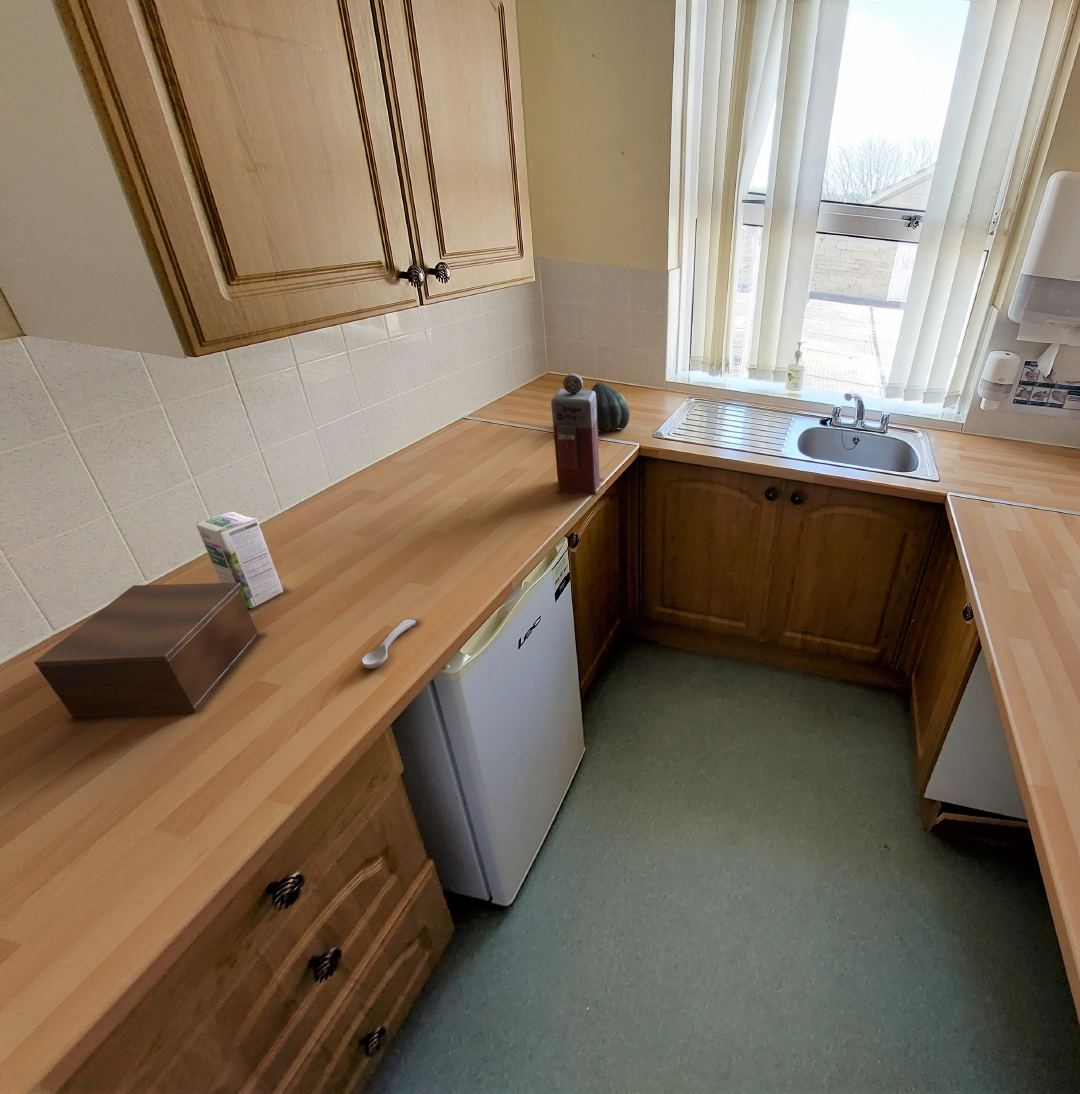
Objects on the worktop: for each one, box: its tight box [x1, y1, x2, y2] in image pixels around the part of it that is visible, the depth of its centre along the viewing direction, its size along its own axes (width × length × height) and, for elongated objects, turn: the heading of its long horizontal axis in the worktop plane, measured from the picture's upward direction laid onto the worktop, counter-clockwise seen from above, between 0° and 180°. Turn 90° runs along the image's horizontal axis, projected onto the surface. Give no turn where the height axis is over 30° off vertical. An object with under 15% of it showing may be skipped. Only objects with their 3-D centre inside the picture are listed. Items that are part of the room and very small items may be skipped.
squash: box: [589, 381, 631, 433], centre depth 180 cm, size 14×15×15 cm
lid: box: [33, 582, 242, 668], centre depth 76 cm, size 16×14×1 cm
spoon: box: [361, 618, 416, 669], centre depth 88 cm, size 3×12×2 cm, turn 178°
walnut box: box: [37, 591, 260, 720], centre depth 78 cm, size 16×14×9 cm
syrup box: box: [195, 511, 284, 609], centre depth 93 cm, size 6×6×14 cm
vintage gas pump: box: [550, 372, 601, 495], centre depth 136 cm, size 9×11×28 cm
